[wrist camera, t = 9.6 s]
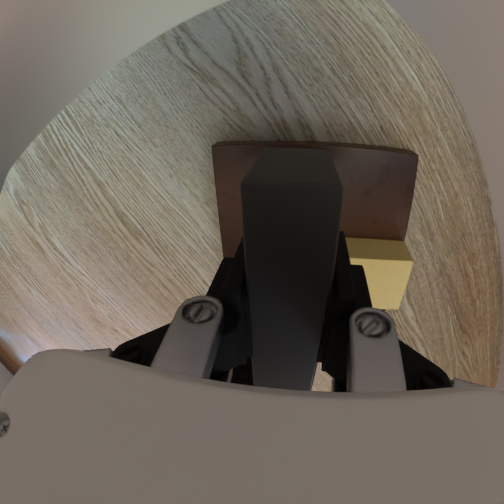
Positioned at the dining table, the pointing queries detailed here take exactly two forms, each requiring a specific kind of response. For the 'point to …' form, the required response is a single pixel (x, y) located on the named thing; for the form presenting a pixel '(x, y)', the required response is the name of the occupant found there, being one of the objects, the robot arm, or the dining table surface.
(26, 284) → the dining table surface
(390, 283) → the butter stick
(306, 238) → the knife
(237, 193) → the cutting board
